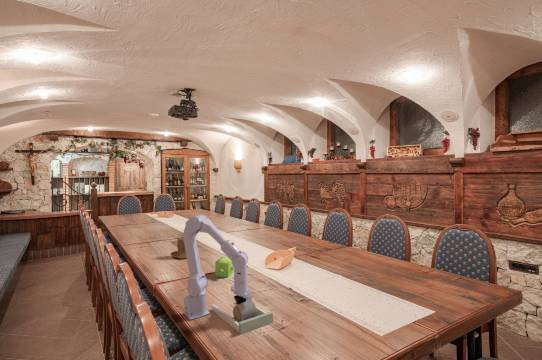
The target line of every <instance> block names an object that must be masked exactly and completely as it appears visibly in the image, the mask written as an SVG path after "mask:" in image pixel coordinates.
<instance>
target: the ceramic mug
mask: <svg viewBox="0 0 542 360" xmlns="http://www.w3.org/2000/svg"><path fill="white" fill-rule="evenodd" d="M255 305H256V304H255V302H254V301H253V299H252V300H251V301H246V302H244V303H241V304H238V305H237V304H236V305H234V307H233V309H232V314H233V319H234V320H236V321H237V322H238V323H239V322H241V321H244V320H247V319H250V318H253V317H256V316H258V314H257V310H256V306H257V305H256V306H255Z"/></svg>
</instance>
